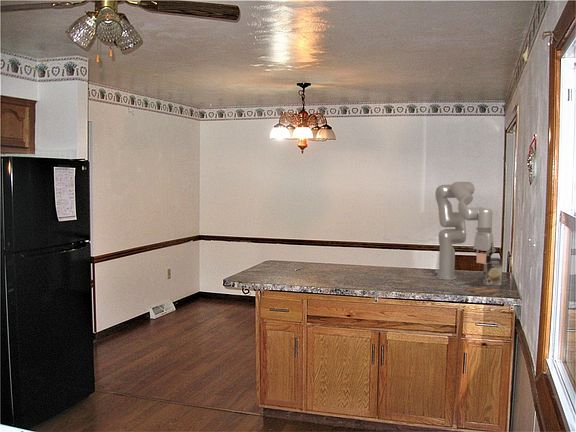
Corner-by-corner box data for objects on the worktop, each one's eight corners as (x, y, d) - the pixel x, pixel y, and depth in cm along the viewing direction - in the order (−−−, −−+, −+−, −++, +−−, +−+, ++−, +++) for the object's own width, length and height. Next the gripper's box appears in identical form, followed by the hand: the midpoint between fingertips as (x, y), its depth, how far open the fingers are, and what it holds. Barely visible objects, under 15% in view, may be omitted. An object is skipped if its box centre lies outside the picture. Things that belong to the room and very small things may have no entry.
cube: (476, 262, 318) (476, 253, 318) (482, 261, 321) (482, 252, 321) (484, 263, 314) (485, 254, 313) (490, 263, 317) (490, 253, 316)
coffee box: (486, 285, 335) (487, 259, 334) (482, 283, 342) (483, 257, 340) (501, 285, 336) (502, 259, 334) (497, 283, 342) (498, 257, 341)
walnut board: (464, 290, 321) (464, 288, 320) (479, 287, 329) (479, 285, 328) (485, 295, 309) (485, 293, 309) (500, 292, 317) (500, 290, 317)
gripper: (467, 229, 321) (466, 260, 322) (493, 232, 307) (492, 264, 308) (475, 228, 325) (474, 259, 326) (501, 231, 311) (500, 263, 312)
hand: (483, 261), depth 317 cm, fingers closed on cube, 5 cm apart
